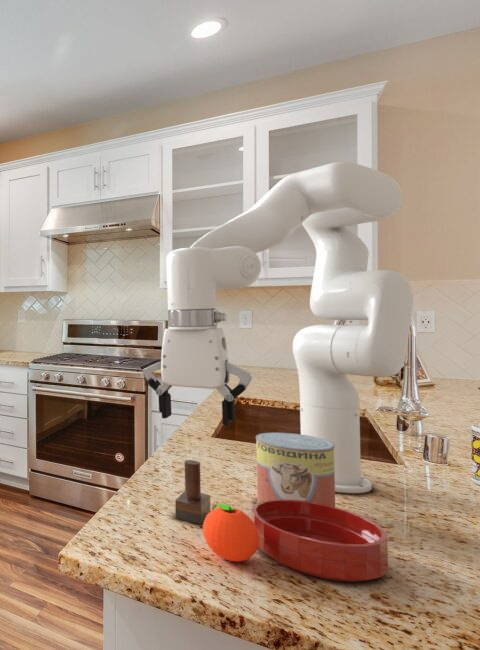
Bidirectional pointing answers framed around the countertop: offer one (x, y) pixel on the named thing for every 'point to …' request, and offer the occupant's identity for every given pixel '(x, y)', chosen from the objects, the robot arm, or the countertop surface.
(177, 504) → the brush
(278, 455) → the canned food
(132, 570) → the countertop surface
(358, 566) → the bowl
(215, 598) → the countertop surface
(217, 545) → the clementine
